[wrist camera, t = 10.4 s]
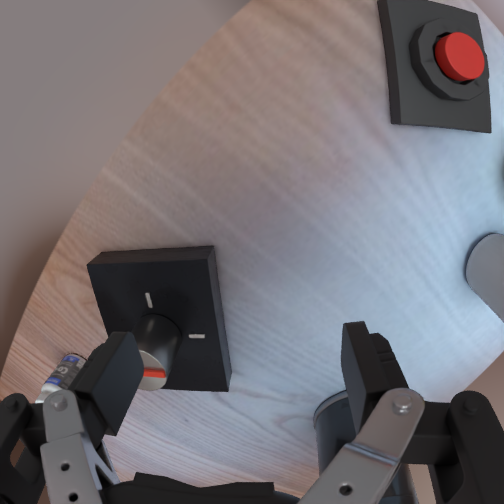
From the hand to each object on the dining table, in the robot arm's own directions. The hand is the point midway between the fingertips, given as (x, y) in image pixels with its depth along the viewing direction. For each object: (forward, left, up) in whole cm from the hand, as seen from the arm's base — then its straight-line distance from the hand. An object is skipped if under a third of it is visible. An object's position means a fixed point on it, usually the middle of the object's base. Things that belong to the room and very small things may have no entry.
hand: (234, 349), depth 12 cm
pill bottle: (-17, +23, -16) cm, 33 cm away
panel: (-9, +9, -16) cm, 20 cm away
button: (+13, -16, -12) cm, 24 cm away
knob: (-9, +9, -13) cm, 18 cm away
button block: (+13, -16, -16) cm, 26 cm away
